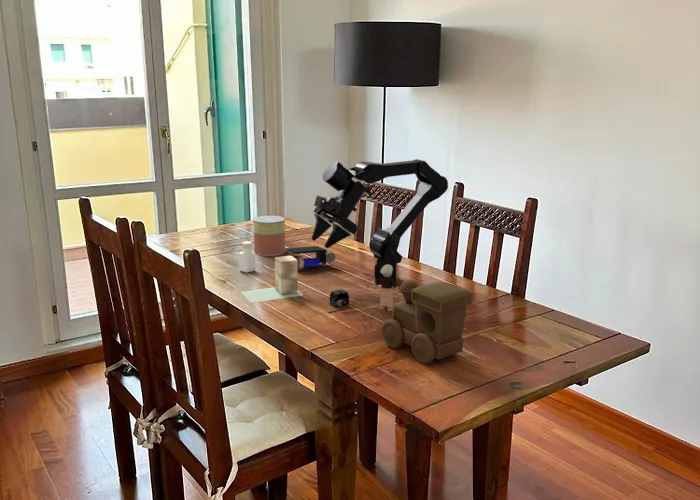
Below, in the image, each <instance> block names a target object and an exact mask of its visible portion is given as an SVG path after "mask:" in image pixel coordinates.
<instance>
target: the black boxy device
mask: <svg viewBox="0 0 700 500" xmlns="http://www.w3.org/2000/svg"><path fill="white" fill-rule="evenodd" d="M329 305H330V306H333V307H334V308H341V307H345V306H349V305H350V295H349V292H348V291H347V290H344V289H343V288H342V289H337V290H331V291H330V294H329ZM345 310H347V308H346V309H344V311H345ZM342 311H343V309H341V310H334V311H333V310H332V311H328V312H327V313H328V314H332V313H336V312H342Z"/></svg>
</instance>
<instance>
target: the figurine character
mask: <svg viewBox="0 0 700 500" xmlns="http://www.w3.org/2000/svg"><path fill="white" fill-rule="evenodd" d="M286 251H288V252H289V253H291V254H294V255H293V256H292V257H294V258H295V259H297V271H302V269H303V268H317V267H318V268H328V265H327V263H329V264H330V263H333V262H334V261H335V260H336V255H335V253H334V252H331V251H328V250H327V248H324V247H321V246H318V245H314V246H311V245H310V246H300V247H299V246H298V247H287V248H286ZM309 253H310V254H312V253H315V257H303V258H302V257H301V256H300V254H309ZM298 254H299V255H298Z"/></svg>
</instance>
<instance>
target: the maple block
mask: <svg viewBox="0 0 700 500" xmlns="http://www.w3.org/2000/svg"><path fill="white" fill-rule="evenodd" d="M274 283H275V284H274V287H275V290H276V291H277V292H278V293H279V294H280V295H287V294H294V293H298V291H299V290H298V287H299V286H298V270H297V259H295V258H294V257H293V256H292V255H285V256H284V255H283V256H278V257H277V256H275V257H274Z"/></svg>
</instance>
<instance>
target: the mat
mask: <svg viewBox="0 0 700 500" xmlns="http://www.w3.org/2000/svg"><path fill="white" fill-rule="evenodd" d="M239 293H240V295H242V296H243V297H244V298H245V299H246V300H247V301H248V302H249V304H254V303H259V302H260V303H261V302H266V301H273V300H281V299H288V298H294V297H295V298H296V297H302V296H304V294H303V293H302V292H301V291H299V290H298V293H294V294H287V295H280V294H279V293H278V292H277V291H276V290H275V286H274V287H267V288H259V289H252V290H244V291H240V292H239Z"/></svg>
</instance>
